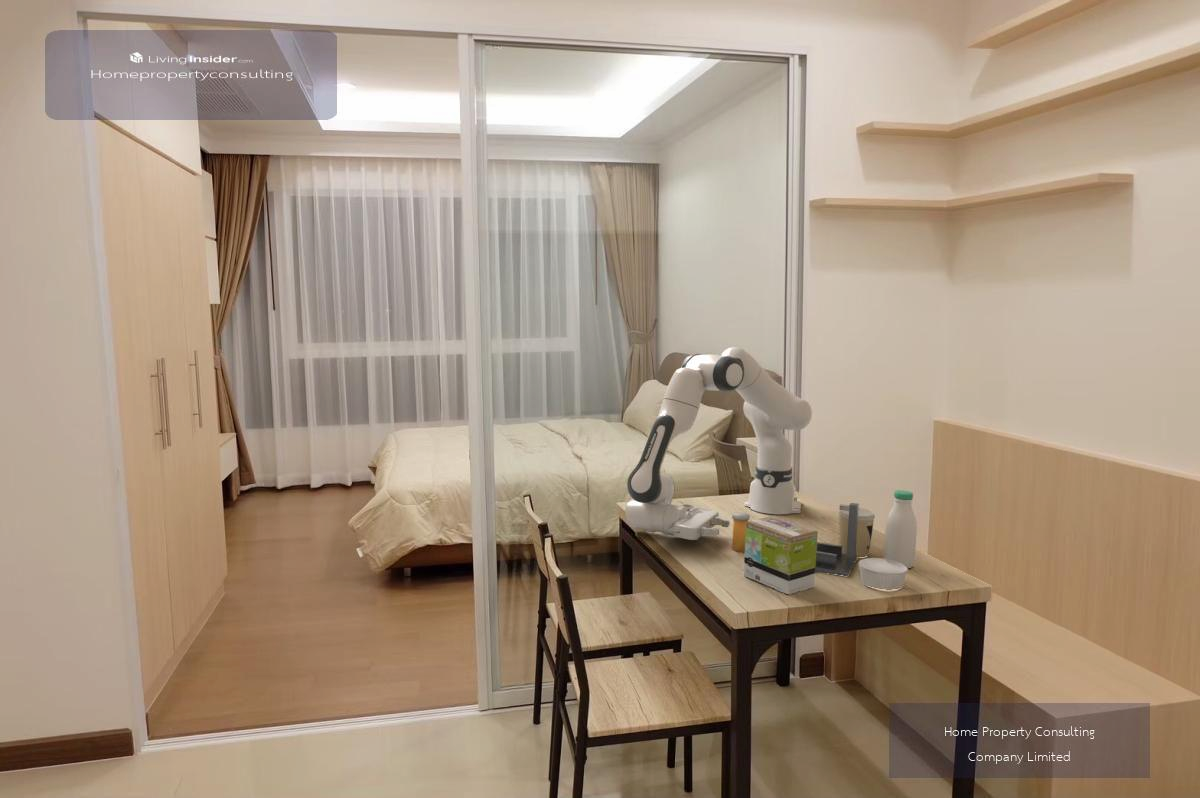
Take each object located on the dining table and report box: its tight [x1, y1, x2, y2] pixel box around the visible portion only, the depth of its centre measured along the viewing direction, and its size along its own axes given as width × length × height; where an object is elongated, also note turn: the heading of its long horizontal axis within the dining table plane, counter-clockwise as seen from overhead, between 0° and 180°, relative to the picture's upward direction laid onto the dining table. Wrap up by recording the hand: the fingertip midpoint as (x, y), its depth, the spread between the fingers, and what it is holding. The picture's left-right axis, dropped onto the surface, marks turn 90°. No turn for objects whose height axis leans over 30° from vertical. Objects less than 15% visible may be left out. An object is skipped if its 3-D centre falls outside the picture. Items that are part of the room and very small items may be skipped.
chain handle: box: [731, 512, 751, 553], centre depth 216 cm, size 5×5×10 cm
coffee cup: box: [838, 507, 875, 558], centre depth 214 cm, size 9×9×12 cm
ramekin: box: [858, 557, 909, 590], centre depth 191 cm, size 11×11×5 cm
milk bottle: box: [883, 490, 918, 569], centre depth 205 cm, size 8×8×20 cm
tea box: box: [743, 515, 819, 595], centre depth 191 cm, size 15×10×15 cm
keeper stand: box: [815, 502, 860, 577], centre depth 204 cm, size 15×12×17 cm
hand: (723, 528), depth 218 cm, fingers open, 8 cm apart
